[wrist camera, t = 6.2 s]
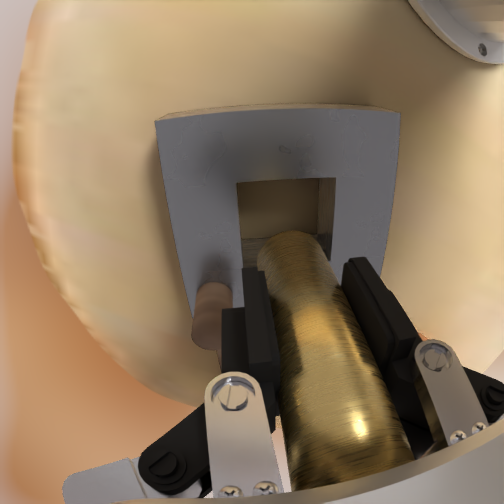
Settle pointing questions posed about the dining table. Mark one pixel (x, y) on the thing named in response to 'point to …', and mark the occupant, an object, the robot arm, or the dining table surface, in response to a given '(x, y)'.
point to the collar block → (276, 168)
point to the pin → (326, 373)
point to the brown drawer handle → (210, 315)
